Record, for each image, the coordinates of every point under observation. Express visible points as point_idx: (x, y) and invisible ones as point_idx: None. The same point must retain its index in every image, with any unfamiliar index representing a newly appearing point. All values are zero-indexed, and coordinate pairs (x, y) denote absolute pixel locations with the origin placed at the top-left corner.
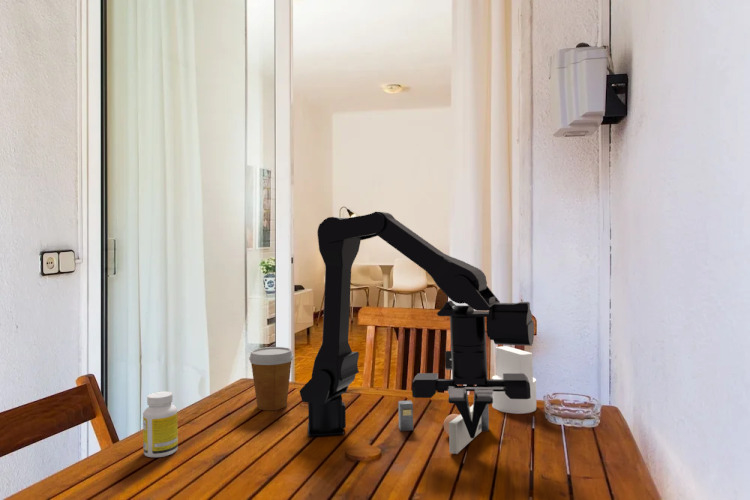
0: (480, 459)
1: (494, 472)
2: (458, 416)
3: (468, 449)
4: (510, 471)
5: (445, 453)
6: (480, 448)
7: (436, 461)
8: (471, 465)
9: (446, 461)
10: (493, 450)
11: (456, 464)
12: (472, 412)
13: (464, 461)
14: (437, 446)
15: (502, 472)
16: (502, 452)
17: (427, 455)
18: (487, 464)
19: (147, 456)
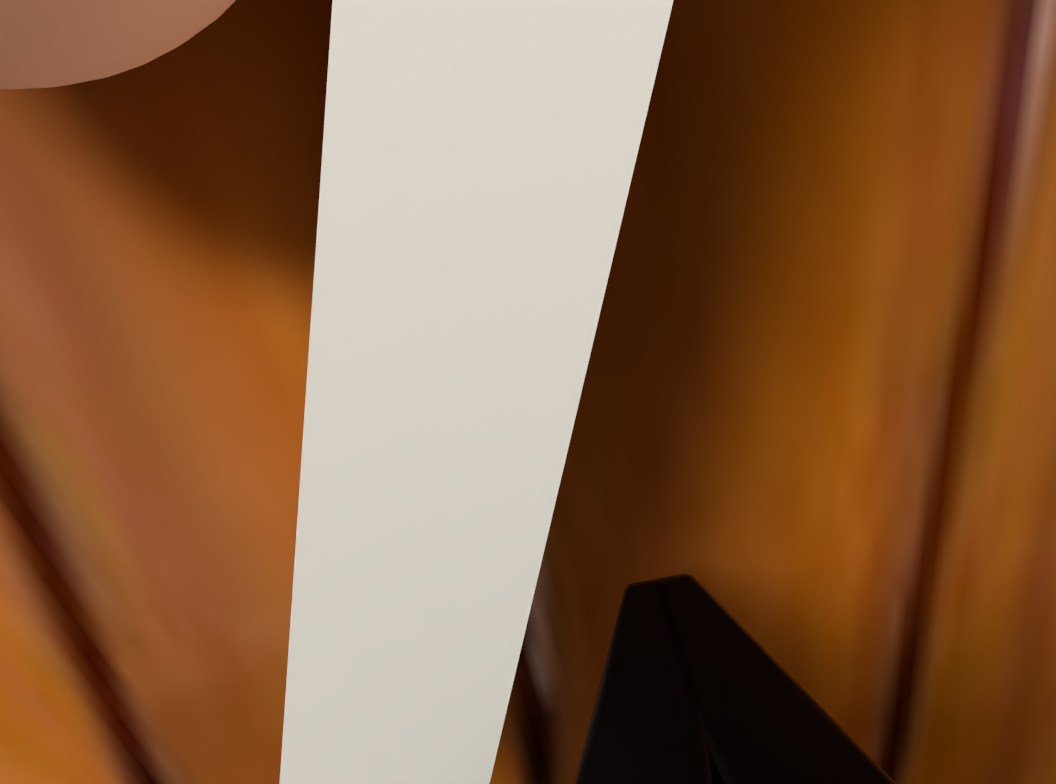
0: (732, 558)
1: (885, 756)
2: (312, 739)
3: None
4: (1048, 692)
5: (249, 555)
6: (706, 216)
7: (243, 761)
8: None
9: None
10: (913, 223)
11: None
12: (648, 36)
13: (551, 662)
14: (12, 380)
15: (964, 732)
16: (1044, 251)
17: (58, 677)
18: (818, 640)
19: None
